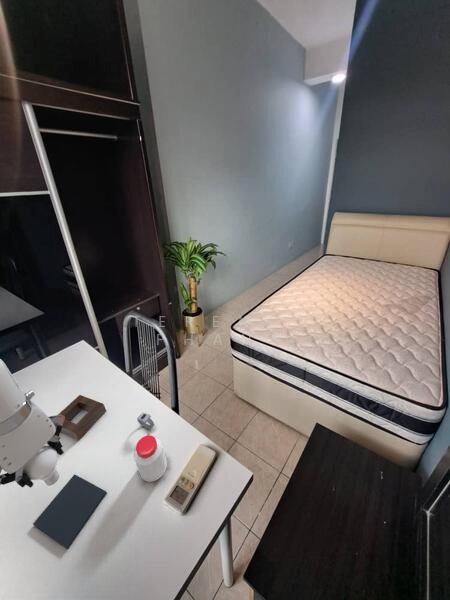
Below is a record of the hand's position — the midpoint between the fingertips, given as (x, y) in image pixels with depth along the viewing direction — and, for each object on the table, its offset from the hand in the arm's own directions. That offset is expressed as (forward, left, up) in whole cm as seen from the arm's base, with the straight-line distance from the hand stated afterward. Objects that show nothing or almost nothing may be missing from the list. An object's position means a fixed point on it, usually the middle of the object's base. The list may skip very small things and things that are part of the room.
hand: (43, 466), depth 56 cm
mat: (0, 0, -19) cm, 19 cm away
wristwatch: (+4, +26, -19) cm, 32 cm away
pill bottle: (+14, +16, -19) cm, 29 cm away
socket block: (-20, +20, -19) cm, 34 cm away
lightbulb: (0, 0, -6) cm, 6 cm away
